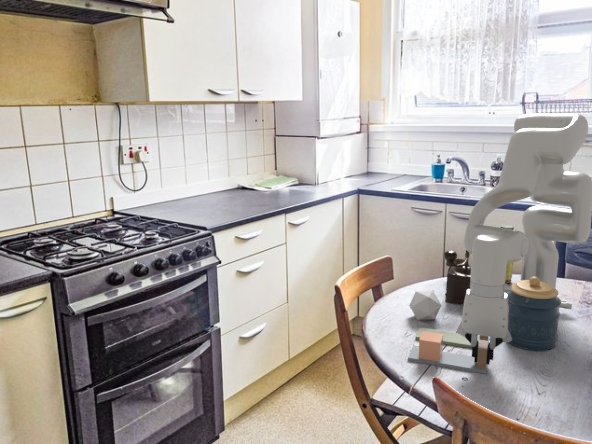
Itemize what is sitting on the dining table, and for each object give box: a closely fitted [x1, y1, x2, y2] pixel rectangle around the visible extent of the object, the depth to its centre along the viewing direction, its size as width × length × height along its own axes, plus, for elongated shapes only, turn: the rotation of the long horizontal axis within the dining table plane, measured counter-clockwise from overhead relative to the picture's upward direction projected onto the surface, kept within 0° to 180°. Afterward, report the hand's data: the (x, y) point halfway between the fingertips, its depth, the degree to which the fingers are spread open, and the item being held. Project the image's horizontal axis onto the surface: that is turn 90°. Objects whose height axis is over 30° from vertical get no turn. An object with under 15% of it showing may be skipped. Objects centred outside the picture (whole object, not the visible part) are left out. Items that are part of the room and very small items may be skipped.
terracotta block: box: [418, 331, 444, 362], centre depth 128 cm, size 5×5×5 cm
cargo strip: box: [407, 340, 489, 375], centre depth 126 cm, size 18×6×6 cm, turn 67°
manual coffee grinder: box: [443, 249, 471, 306], centre depth 161 cm, size 16×11×18 cm
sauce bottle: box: [500, 224, 515, 285], centre depth 177 cm, size 7×6×20 cm
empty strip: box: [415, 327, 490, 349], centre depth 137 cm, size 18×6×6 cm, turn 67°
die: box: [408, 290, 442, 321], centre depth 151 cm, size 8×9×10 cm
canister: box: [506, 276, 562, 351], centre depth 135 cm, size 13×13×18 cm
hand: (482, 360), depth 124 cm, fingers closed on cargo strip, 2 cm apart
